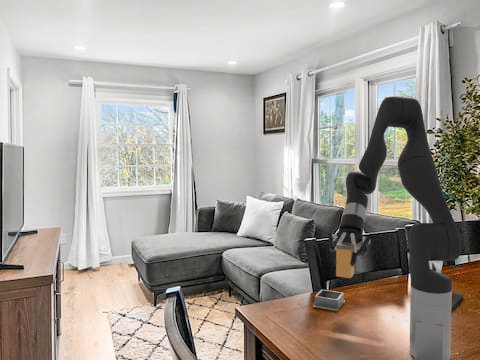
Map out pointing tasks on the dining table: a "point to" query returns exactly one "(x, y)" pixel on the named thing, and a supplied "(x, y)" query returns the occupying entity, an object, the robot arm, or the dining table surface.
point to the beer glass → (436, 265)
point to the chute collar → (329, 299)
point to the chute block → (344, 260)
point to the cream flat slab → (328, 308)
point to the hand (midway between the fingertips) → (343, 263)
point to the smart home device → (455, 300)
